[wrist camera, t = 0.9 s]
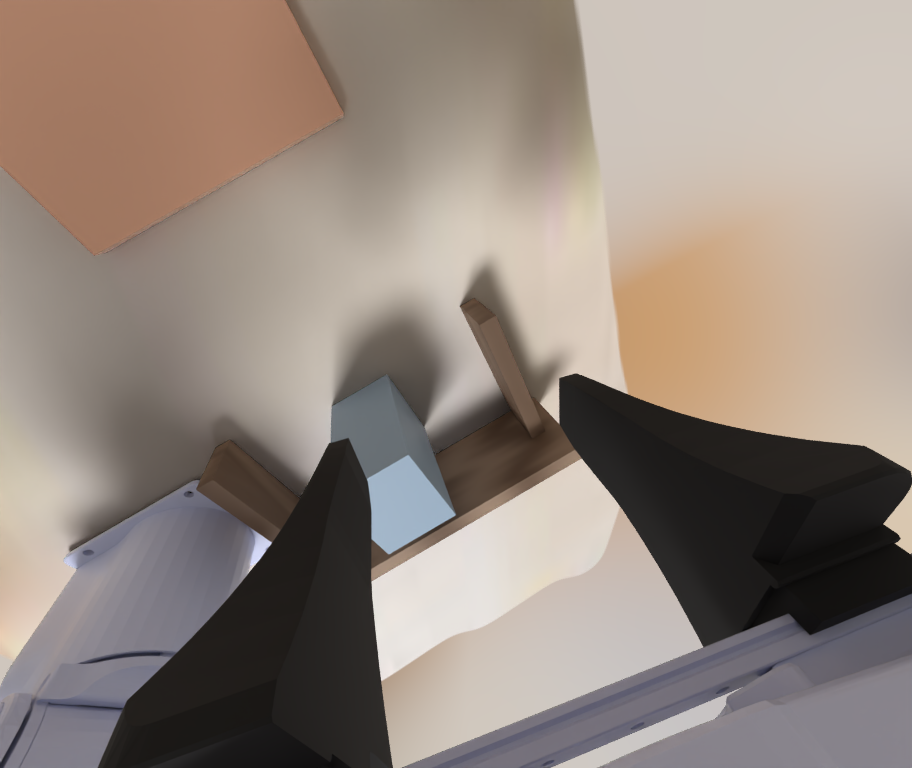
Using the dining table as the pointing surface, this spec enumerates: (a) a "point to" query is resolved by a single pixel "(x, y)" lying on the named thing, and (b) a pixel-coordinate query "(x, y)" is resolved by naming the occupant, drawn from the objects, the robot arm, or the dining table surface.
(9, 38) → the tile
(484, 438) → the wooden u-shaped rack
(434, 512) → the block
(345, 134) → the dining table surface
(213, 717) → the robot arm
